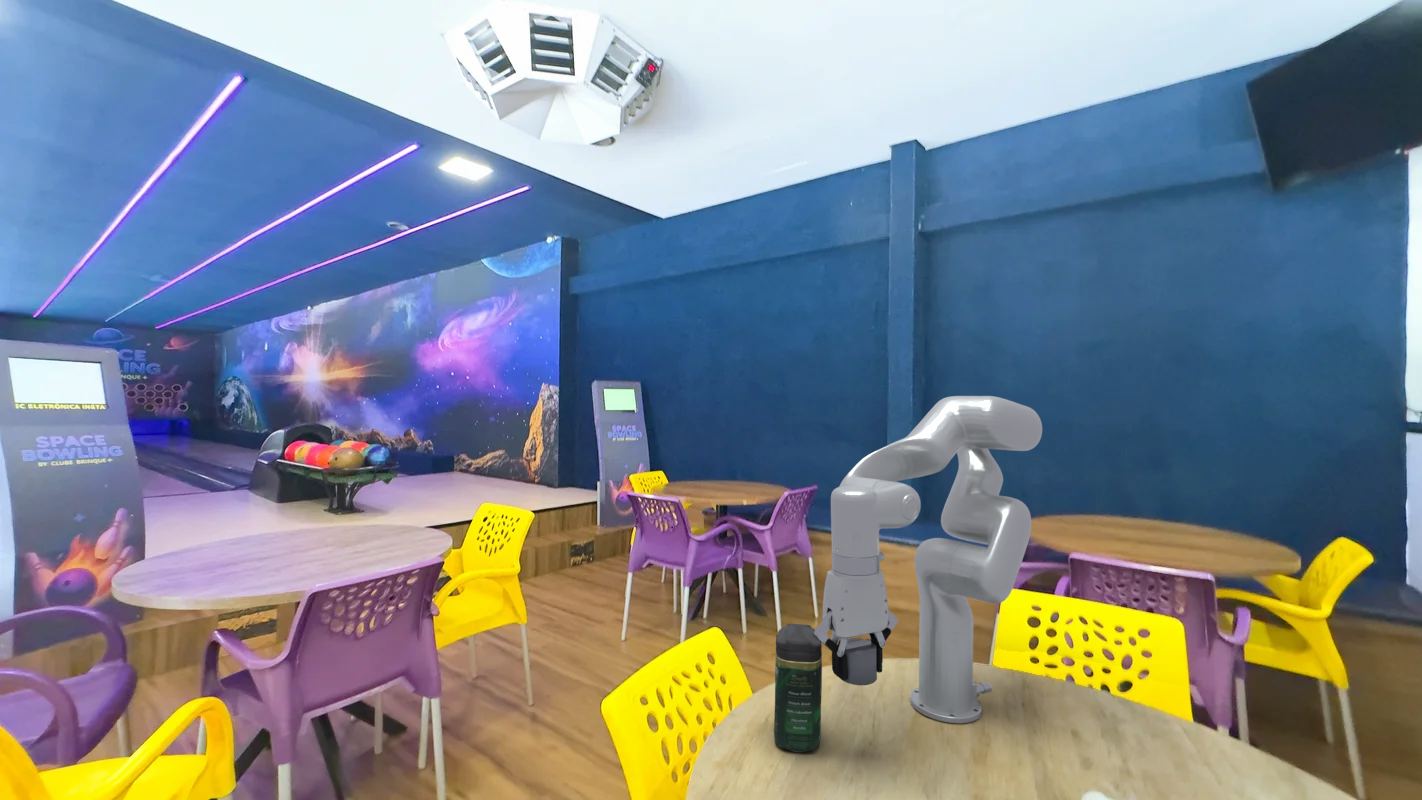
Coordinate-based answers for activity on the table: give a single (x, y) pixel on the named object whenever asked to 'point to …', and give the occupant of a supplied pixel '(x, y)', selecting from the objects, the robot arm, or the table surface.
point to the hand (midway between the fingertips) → (857, 671)
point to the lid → (861, 661)
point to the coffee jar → (798, 688)
